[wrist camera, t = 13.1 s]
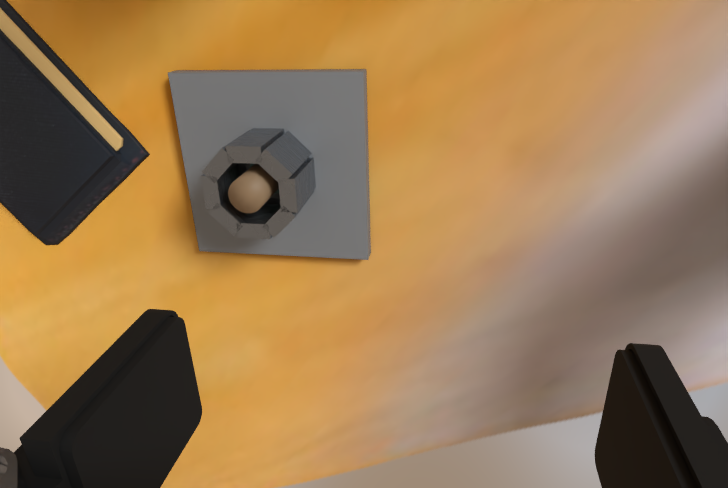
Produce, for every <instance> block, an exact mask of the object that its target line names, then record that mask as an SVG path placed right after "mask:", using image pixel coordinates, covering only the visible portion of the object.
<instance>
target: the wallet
mask: <svg viewBox="0 0 728 488" xmlns="http://www.w3.org/2000/svg"><path fill="white" fill-rule="evenodd" d="M149 155H150V154H149V153H148V152H147V151H146V150H145V148H144V147H143V146H142V145H141V144H140V143H139V141H138V140H137V139H136V138H135V137H134V136H133V134H132V133H131V132H130V131H129V130H128V129H127V128H126V127H125V126H124V125H123V124H122V123H121V122H120V121H119V120H118V119H117V118H116V117H115V116H114V115H113V114H112V113H111V112H110V111H109V110H108V109H107V108H106V107H105V106H104V105H103V104H102V103H101V102H100V101H99V99H98V98H97V97H96V96H95V95H94V94H93V93H92V92H91V91H90V90H89V89H88V88H87V87H86V86H85V84H84V83H83V82H82V81H81V80H80V79H79V78H78V77H77V76H76V75H75V74H74V73H73V72H72V71H71V69H70V68H69V67H68V66H67V65H66V64H65V63H64V62H63V61H62V60H61V59H60V58H59V57H58V56H57V54H56V53H55V52H54V51H53V50H52V49H51V48H50V47H49V46H48V45H47V44H46V43H45V42H44V41H43V39H42V38H41V37H40V36H39V35H38V34H37V33H36V32H35V31H34V30H33V29H32V28H31V27H30V25H29V24H28V23H27V22H26V21H25V20H24V19H23V18H22V17H21V16H20V15H19V14H18V13H17V12H16V10H15V9H14V8H13V7H12V6H11V5H10V4H9V3H8V2H7V1H6V0H0V202H1V203H2V204H3V205H4V206H5V207H6V208H7V209H8V210H9V211H10V212H11V213H12V214H13V215H14V216H15V217H16V218H17V219H18V220H19V221H20V222H21V223H22V224H23V225H24V226H25V227H26V228H27V229H28V230H29V231H30V232H31V233H32V234H33V235H35V236H36V237H37V238H38V239H39V240H41V241H42V242H43V243H44V244H46V245H58V244H59V243H60V242H62V241H63V240H64V239H65V238H66V237H67V236H69V235H70V234H71V233H72V232H73V231H74V230H75V229H76V228H77V226H78V225H79V224H80V223H81V222H82V221H83V220H84V219H85V218H86V217H87V216H88V215H89V214H90V213H91V212H92V211H93V210H94V209H95V208H96V207H97V206H98V205H99V204H100V203H101V202H102V201H103V200H104V199H105V198H106V197H107V196H108V195H109V194H110V193H111V192H112V191H113V190H114V189H116V188H117V187H118V186H119V185H120V184H121V183H122V182H123V181H124V180H125V179H126V178H127V177H128V176H129V175H130V174H131V173H132V172H133V171H134V170H135V169H136V167H137V166H138V165H139V164H140V163H141V162H143V161H144V160H145V159H146V158H147V157H148V156H149Z"/></svg>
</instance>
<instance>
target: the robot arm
mask: <svg viewBox="0 0 728 488" xmlns="http://www.w3.org/2000/svg"><path fill="white" fill-rule="evenodd" d="M201 415H202V406H201V401H200V396H199V391H198V386H197V382H196V377H195V372H194V367H193V362H192V357H191V352H190V347H189V342H188V337H187V332H186V327H185V323H184V320H183V319H182V318H180V317H178V315H177V314H176V312H174V311H171V310H157V309H149V310H147V311H145V312H144V313H143V314H142V315H141V316H140V317H139V318H138V319H137V320H136V321H135V322H134V323H133V324H132V325H131V326H130V327H129V328H128V329H127V330H126V331H125V332H124V333H123V334H122V335H121V336H120V337H119V338H118V339H117V340H116V341H115V342H114V344H113V345H112V346H111V347H110V348H109V349H108V350H107V351H106V352H105V353H104V354H103V355H102V356H101V357H100V358H99V359H98V360H97V361H96V362H95V363H94V364H93V365H92V366H91V367H90V368H89V369H88V370H87V371H86V372H85V373H84V374H83V375H82V376H81V377H80V378H79V379H78V380H77V381H76V382H75V383H74V384H73V385H72V386H71V387H70V388H69V389H68V390H67V391H66V392H65V393H64V394H63V395H62V396H61V397H60V398H59V399H58V400H57V401H56V402H55V403H54V404H53V405H52V406H51V407H50V408H49V409H48V410H47V411H46V412H45V413H44V414H43V415H42V416H41V417H40V418H39V419H38V420H37V421H36V422H35V423H34V424H33V425H32V426H31V427H30V428H29V429H28V430H27V431H26V432H25V433H24V434H23V435H22V436H21V437H20V441H21V443H22V445H21V446H20V447H19V448H18V449H17V450H16V451H15V452H14V453H13V452H12V451H10V450H9V449H4V448H0V488H160V487H161V485H162V484H163V482H164V480H165V479H166V477H167V475H168V474H169V472H170V471H171V469H172V467H173V466H174V464H175V462H176V461H177V459H178V457H179V456H180V454H181V452H182V451H183V449H184V448H185V446H186V444H187V443H188V441H189V439H190V438H191V436H192V434H193V433H194V431H195V430H196V428H197V426H198V424H199V422H200V419H201ZM595 463H596V468H597V472H598V475H599V479H600V482H601V486H602V488H728V443H727V441H726V440H725V438H724V436H723V435H722V433H721V431H720V430H719V428H718V426H717V425H716V424H715V422H714V421H713V420H712V419H710V418H708V417H702V416H701V415H700V413H699V411H698V410H697V408H696V406H695V404H694V403H693V401H692V399H691V397H690V395H689V394H688V392H687V390H686V388H685V387H684V385H683V383H682V381H681V379H680V378H679V376H678V374H677V372H676V371H675V369H674V367H673V365H672V363H671V362H670V360H669V358H668V356H667V355H666V353H665V351H664V349H663V348H662V347H661V346H659V345H647V344H633V343H630V344H628V345H627V346H626V349H625V350H617V352H616V354H615V358H614V363H613V368H612V372H611V377H610V382H609V386H608V391H607V396H606V400H605V405H604V410H603V414H602V420H601V424H600V428H599V433H598V438H597V443H596V448H595Z"/></svg>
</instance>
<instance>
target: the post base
mask: <svg viewBox="0 0 728 488" xmlns="http://www.w3.org/2000/svg"><path fill="white" fill-rule="evenodd" d="M168 76H169V82H170V87H171V93H172V99H173V104H174V110H175V116H176V121H177V127H178V133H179V138H180V144H181V150H182V155H183V161H184V167H185V172H186V178H187V184H188V189H189V195H190V201H191V206H192V212H193V218H194V223H195V229H196V235H197V240H198V246H199V251H208V252H228V253H247V254H267V255H286V256H305V257H325V258H344V259H364V260H368V259H369V256H370V253H371V246H370V204H369V163H368V121H367V79H366V69H324V70H178V71H172V72H169V73H168ZM253 128H277V129H284V132H285V133H286V132H287V131H288V130H289V131H290V132H291V133H292V134H293V135H294V136H295V137H296V138H297V139H298V140H299V141H300V142H301V143H302V144H303V145H304V146H305V147H306V148H307V149H308V150H309V151H310V152H311V153H312V154H311V155H310V156H309V157H314V166H315V181H316V188H315V189H314V193H313V194H312V195H311V197H310V198H309V200H308V201H307V202H306V204H305V205H304V206H303V208H302V209H301V210H300V212H299V213H298V214H297V216H296V217H295V218H294V219H293V220H292V221H291V222H290V223H289V224H288V225H287V226H286V227H285V228H284V229H283V230H282V231H281V232H280V233H279V234H278V235H277V236H276V237H275V238H274V237H272V238H271V239H253V238H238V232H237V233H236V234H235V235H234V236H233V235H232V234H231V233H230V232H229V231H228V230H227V229H226V228H225V227H223V226H222V225H221V224H220V223H219V222H218V221H217V220H216V219H214V218H213V217H212V216H211V215H210V214H209V213H208V212H209V211H210V210H211V209H206V207H205V201H204V194H203V188H202V182H201V175H203V174H204V173H202V171H203V170H204V168H205V167H206V166H207V165H208V164H209V162H210V161H211V160H212V159H213V158H214V156H215V155H216V154H217V153H218V152H219V151H220V149H221V148H222V147H224V146H225V145H227V144H228V143H230V142H232V141H233V140H235V139H236V138H238V137H239V136H241V135H242V134H244V133H245V132H247V131H249V130H251V129H253ZM245 166H246V172H244V173H243V174H242V175H241V176H240V177H238V178H237V179H236V180H235V181H234V182H233V183H232V184H231V185H230V187H229V190H228V196H229V200H230V202H231V204H232V205H233V206H234V207H235V208H236V209H237V210H239V211H241V212H243V213H254V212H256V211H258V210H259V209H260V208H261V207H262V206H263V205H264V204H265V203H266V202H267V201H268V199H269V198H280V195H279V184H278V182H277V181H276V180H275V179H274V178H273V177H272V176H271V175H270V174H269V173H267V172H266V171H265V170H264V169H263V168H262V167H261V166H260V165H259V164H250V163H245Z"/></svg>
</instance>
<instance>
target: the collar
mask: <svg viewBox="0 0 728 488" xmlns="http://www.w3.org/2000/svg"><path fill="white" fill-rule="evenodd" d="M311 154H312V153H311V152H310V151H309V150H308V149H307V148H306V147H305V146H304V145H303V144H302V143H301V142H300V141H299V140H298V139H297V138H296V137H295V136H294V135H293V134H292V133H291V132H290V131H289V130H288V131H287V132H286V133H285V132H284V129H277V128H253V129H251V130H249V131H247V132H245V133H244V134H242V135H241V136H239V137H238V138H236V139H235V140H233V141H232V142H230V143H228V144H227V145H225V146H224V147H222V148H221V149H220V151H219V152H218V153H217V154H216V155H215V156H214V158H213V159H212V160H211V161H210V162H209V164H208V165H207V166H206V167H205V168H204V170H203V171H202V173H204V174H203V175H201V182H202V188H203V194H204V201H205V207H206V209H211V210H210V211H209V212H208V213H209V214H210V215H211V216H212V217H213V218H214V219H216V220H217V221H218V222H219V223H220V224H221V225H222V226H223V227H225V228H226V229H227V230H228V231H229V232H230V233H231V234H232V235H233V236H234V235H235V234H236V233H237V232H238V238H253V239H271V238H272V237H274V238H275V237H276V236H277V235H278V234H279V233H280V232H281V231H282V230H283V229H284V228H285V227H286V226H287V225H288V224H289V223H290V222H291V221H292V220H293V219H294V218H295V217H296V216H297V214H298V213H299V212H300V210H301V209H302V208H303V206H304V205H305V204H306V202H307V201H308V200H309V198H310V197H311V195H312V194H313V193H314V189H315V188H316V181H315V166H314V157H309V156H310V155H311ZM245 163H250V164H259V165H260V166H261V167H262V168H263V169H264V170H265V171H266V172H267V173H269V174H270V175H271V176H272V177H273V178H274V179H275V180H276V181H277V182H278V184H279V195H280V198H269V199H268V201H267V202H266V203H265V204H264V205H263V206H262V207H261V208H260V209H259V210H258V211H256V212H254V213H243V212H241V211H239V210H237V209H236V208H235V207H234V206H233V205H232V204H231V202H230V200H229V196H228V190H229V187H230V185H231V184H232V183H233V182H234V181H235V180H236V179H237V178H238V177H240V176H241V175H242V174H243V173H244V172H246V166H245Z"/></svg>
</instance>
